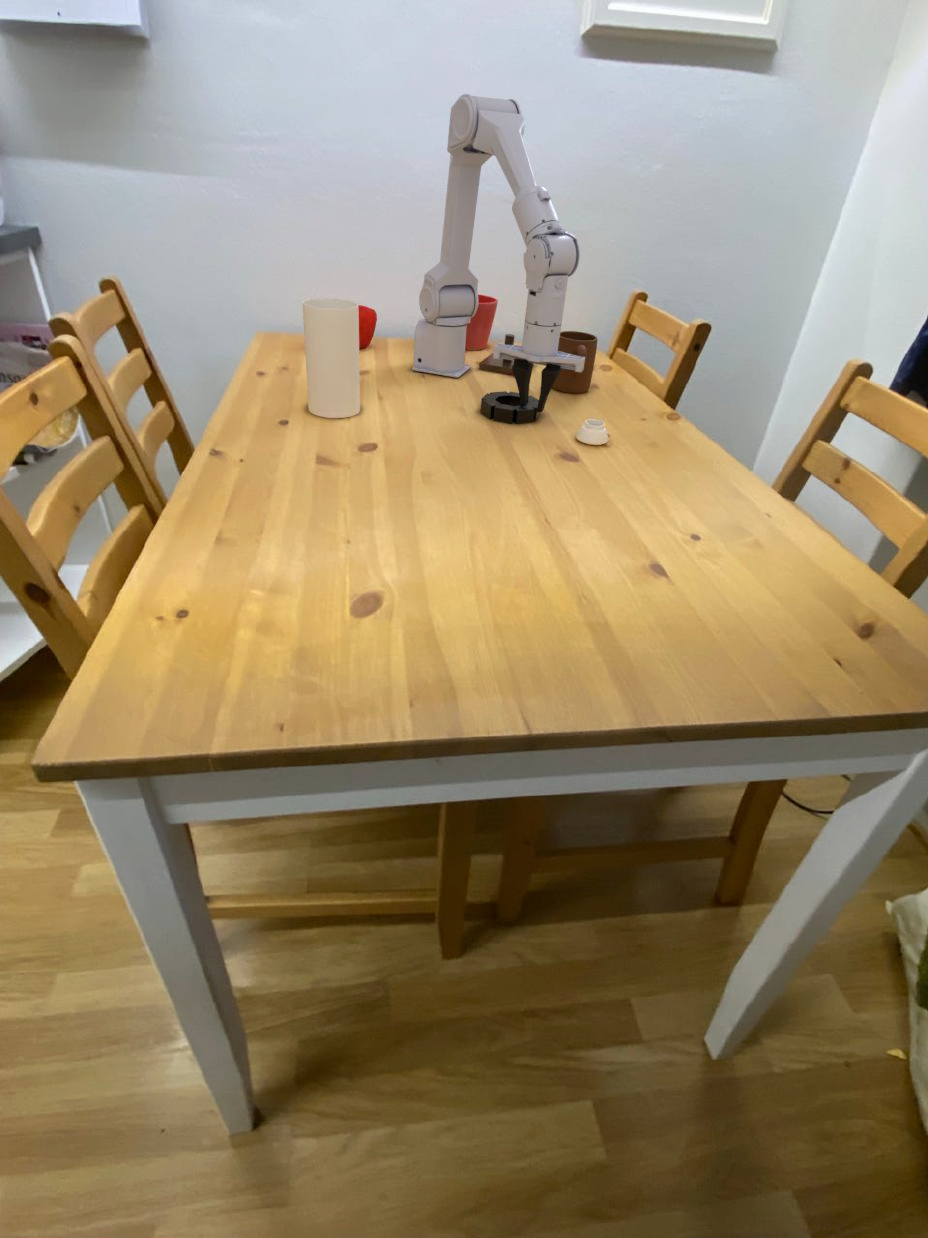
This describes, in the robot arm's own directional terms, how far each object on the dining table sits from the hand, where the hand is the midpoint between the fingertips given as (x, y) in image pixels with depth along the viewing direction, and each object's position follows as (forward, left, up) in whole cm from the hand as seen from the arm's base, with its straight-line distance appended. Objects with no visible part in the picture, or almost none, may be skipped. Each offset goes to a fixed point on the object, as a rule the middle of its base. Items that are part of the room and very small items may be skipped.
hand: (532, 408), depth 116 cm
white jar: (+11, -6, -2) cm, 13 cm away
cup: (-30, -13, -2) cm, 32 cm away
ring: (-4, 0, -1) cm, 4 cm away
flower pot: (-24, +39, -2) cm, 46 cm away
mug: (+3, +18, -2) cm, 18 cm away
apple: (-44, +24, -2) cm, 50 cm away
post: (-12, +27, -1) cm, 29 cm away
